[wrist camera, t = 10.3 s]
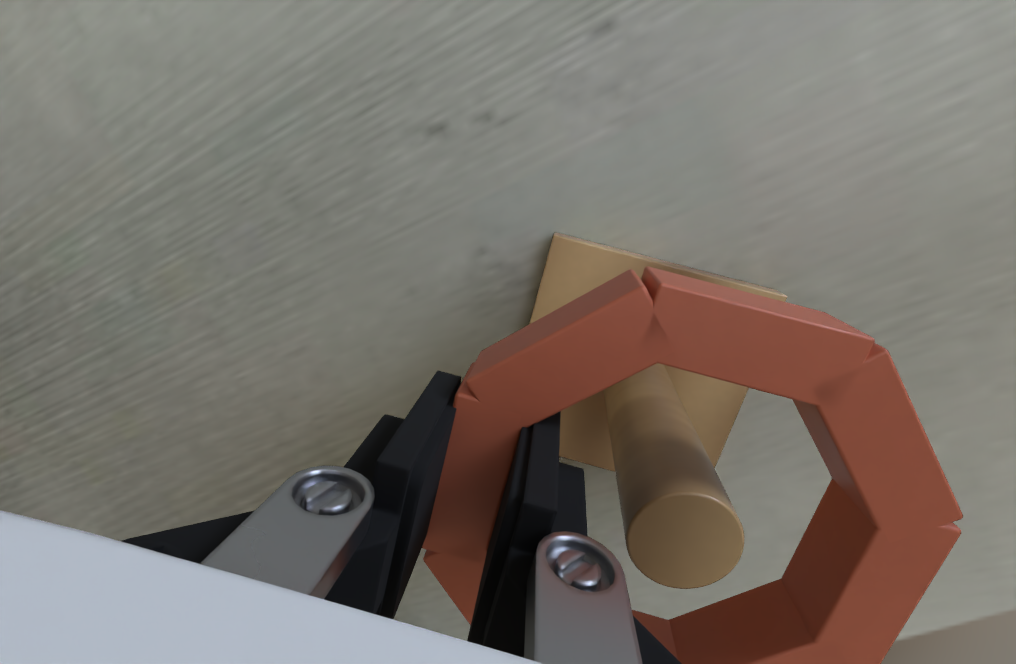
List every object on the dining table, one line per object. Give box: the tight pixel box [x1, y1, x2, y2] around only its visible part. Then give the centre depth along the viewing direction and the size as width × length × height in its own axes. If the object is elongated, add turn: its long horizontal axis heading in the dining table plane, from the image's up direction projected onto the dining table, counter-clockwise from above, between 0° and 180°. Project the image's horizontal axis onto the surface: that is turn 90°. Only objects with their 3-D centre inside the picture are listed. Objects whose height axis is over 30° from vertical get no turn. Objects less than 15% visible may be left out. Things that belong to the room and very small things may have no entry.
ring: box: [422, 266, 963, 664], centre depth 11 cm, size 10×10×2 cm
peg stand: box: [529, 232, 787, 589], centre depth 15 cm, size 8×8×10 cm
